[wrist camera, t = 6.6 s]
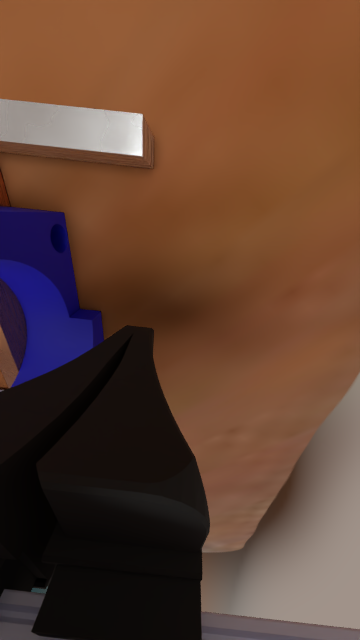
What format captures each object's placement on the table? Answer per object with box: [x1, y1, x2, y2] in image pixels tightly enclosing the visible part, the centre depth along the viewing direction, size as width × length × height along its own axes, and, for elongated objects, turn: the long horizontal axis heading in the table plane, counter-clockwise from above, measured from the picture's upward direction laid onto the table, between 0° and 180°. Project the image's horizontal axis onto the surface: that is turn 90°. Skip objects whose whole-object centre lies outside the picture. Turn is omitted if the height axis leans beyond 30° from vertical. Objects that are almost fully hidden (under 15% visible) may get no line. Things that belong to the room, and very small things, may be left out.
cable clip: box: [0, 206, 104, 387], centre depth 11 cm, size 12×4×6 cm, turn 175°
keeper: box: [0, 99, 154, 388], centre depth 12 cm, size 9×18×3 cm, turn 174°
